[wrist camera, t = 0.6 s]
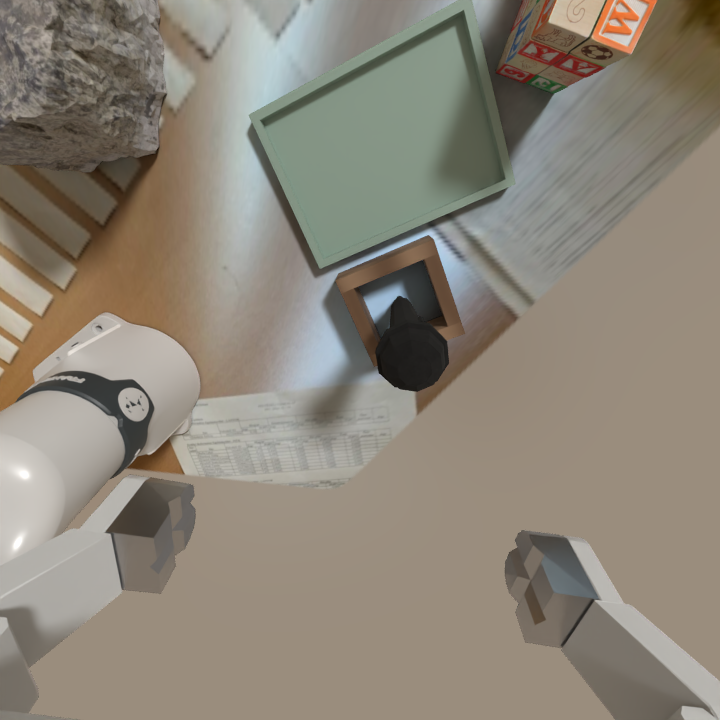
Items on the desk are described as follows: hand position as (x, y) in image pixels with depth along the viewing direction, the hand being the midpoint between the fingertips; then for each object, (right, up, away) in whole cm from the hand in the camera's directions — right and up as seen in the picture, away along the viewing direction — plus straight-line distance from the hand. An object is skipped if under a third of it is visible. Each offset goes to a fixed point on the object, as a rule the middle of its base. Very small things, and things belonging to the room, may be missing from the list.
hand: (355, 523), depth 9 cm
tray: (+3, +26, +29) cm, 39 cm away
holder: (+5, +12, +35) cm, 37 cm away
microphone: (+5, +12, +35) cm, 38 cm away
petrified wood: (-26, +33, +27) cm, 50 cm away
